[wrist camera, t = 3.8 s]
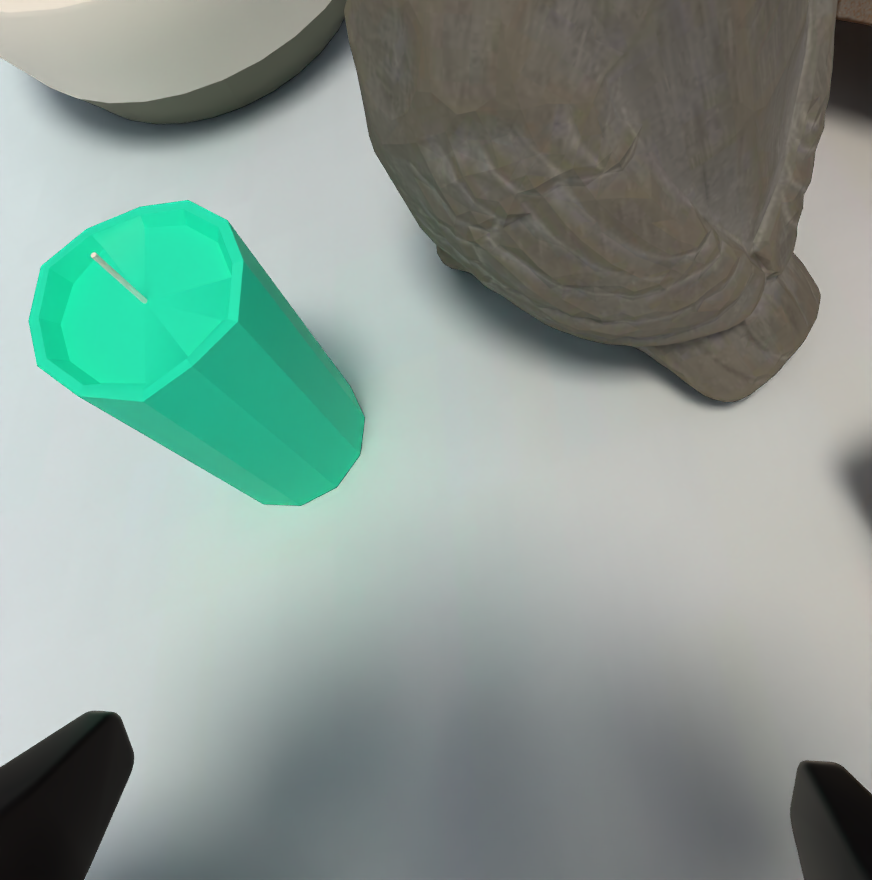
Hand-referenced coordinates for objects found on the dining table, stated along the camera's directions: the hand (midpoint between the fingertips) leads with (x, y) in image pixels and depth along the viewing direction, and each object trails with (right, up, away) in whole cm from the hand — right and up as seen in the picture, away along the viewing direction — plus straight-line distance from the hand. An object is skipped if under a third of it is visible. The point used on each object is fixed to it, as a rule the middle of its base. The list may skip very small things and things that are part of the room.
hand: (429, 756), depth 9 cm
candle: (-6, +4, +18) cm, 19 cm away
